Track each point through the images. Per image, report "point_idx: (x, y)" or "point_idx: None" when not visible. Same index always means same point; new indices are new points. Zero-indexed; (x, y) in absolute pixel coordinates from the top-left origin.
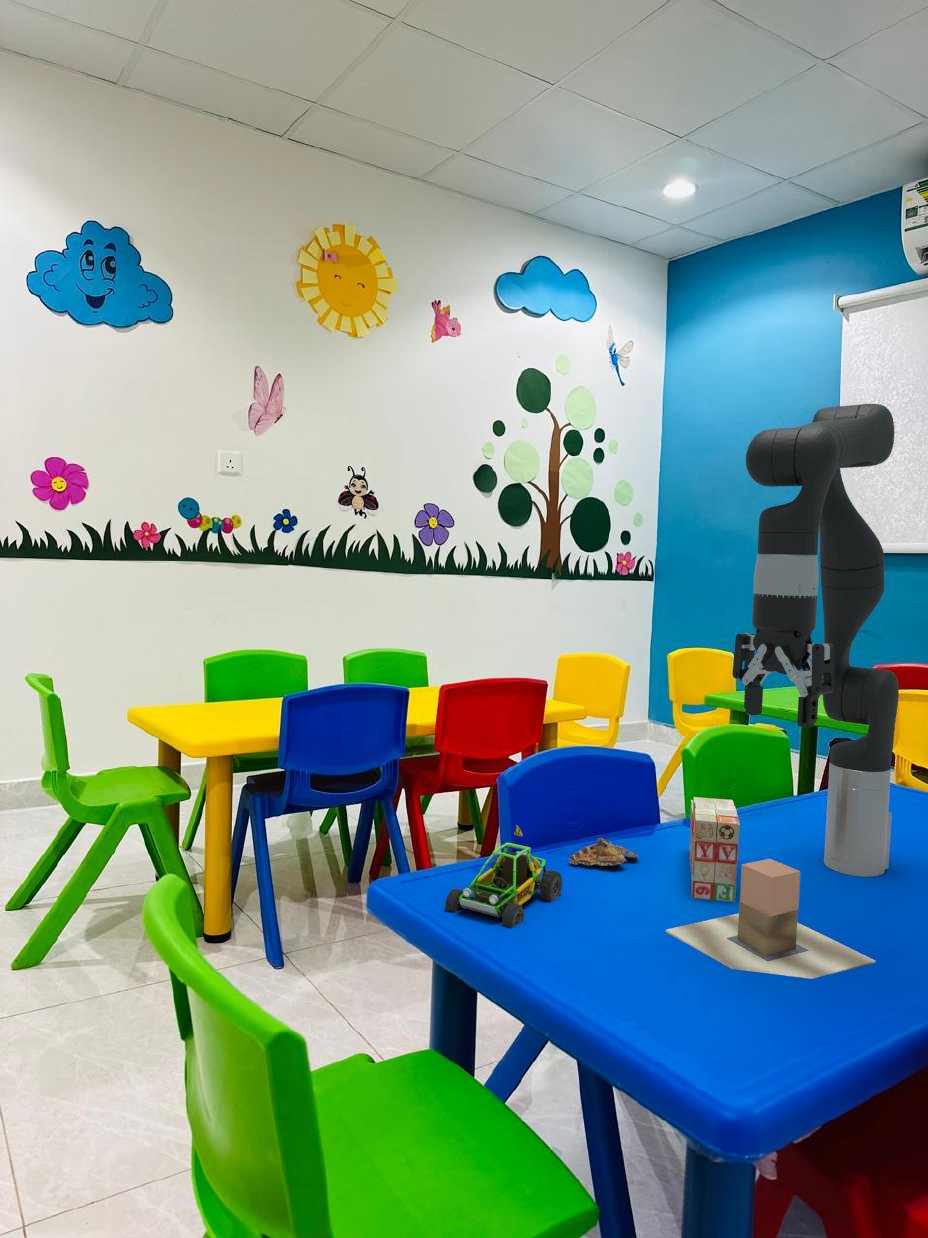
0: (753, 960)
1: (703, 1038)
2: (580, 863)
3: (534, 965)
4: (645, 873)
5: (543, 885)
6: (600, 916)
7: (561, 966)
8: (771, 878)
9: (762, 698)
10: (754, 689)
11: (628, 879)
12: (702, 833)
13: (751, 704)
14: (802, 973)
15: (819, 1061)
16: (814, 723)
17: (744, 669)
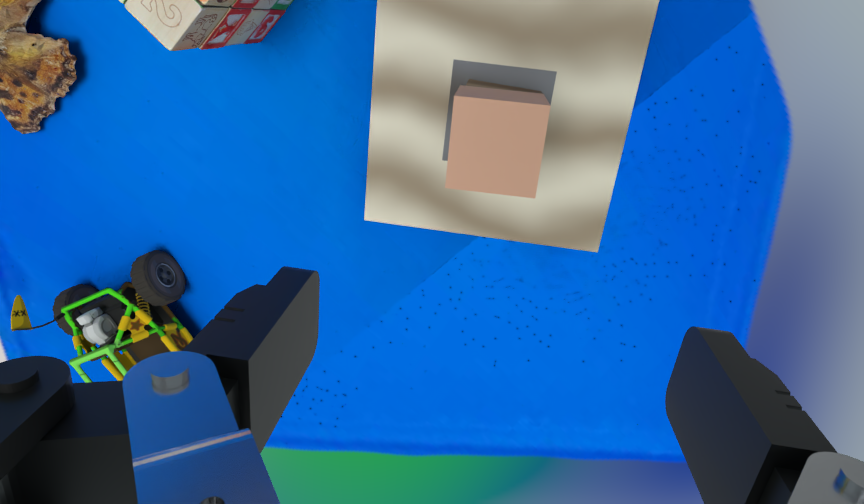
0: None
1: (599, 384)
2: (39, 120)
3: (350, 415)
4: (109, 18)
5: (165, 304)
6: (256, 245)
7: (368, 392)
8: (533, 197)
9: (283, 310)
10: (258, 422)
11: (129, 78)
12: (199, 35)
13: (295, 374)
14: (599, 159)
15: (726, 320)
16: (732, 336)
17: (11, 476)
